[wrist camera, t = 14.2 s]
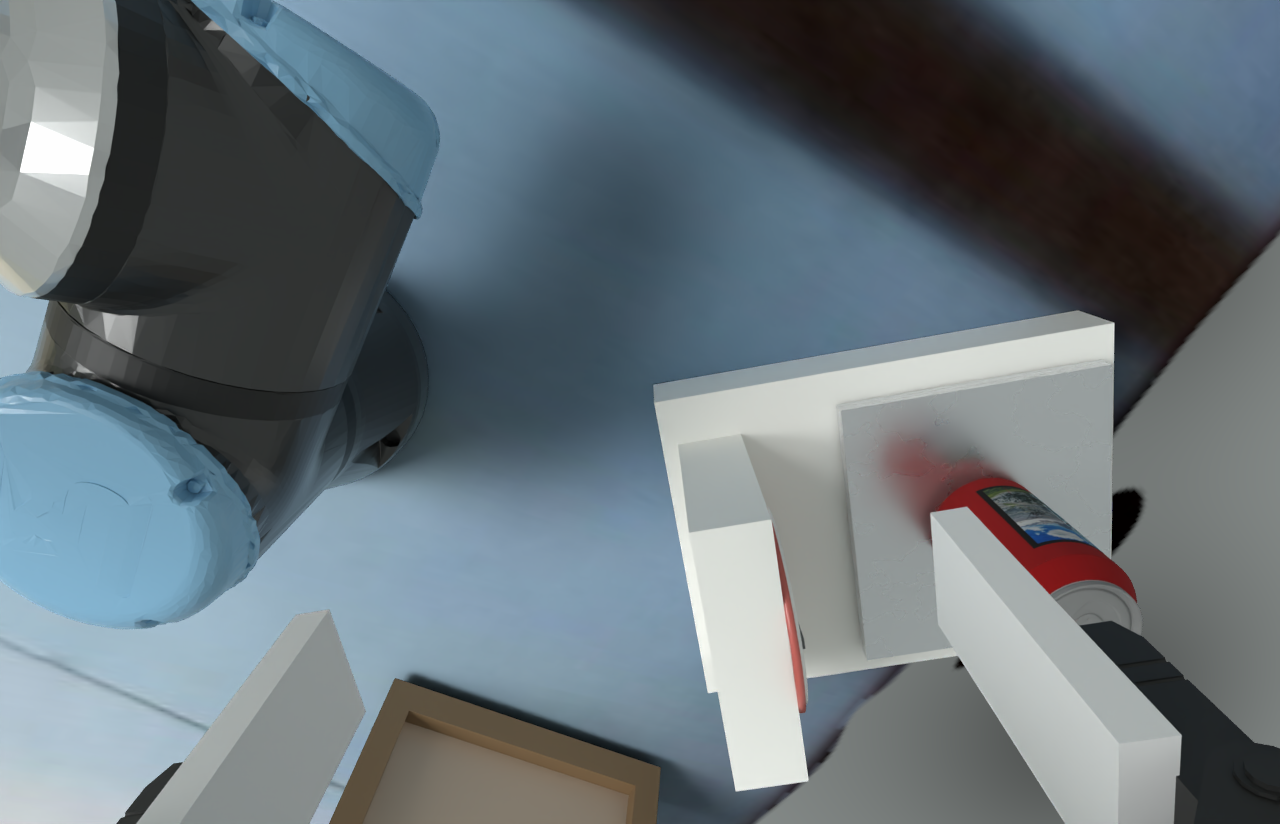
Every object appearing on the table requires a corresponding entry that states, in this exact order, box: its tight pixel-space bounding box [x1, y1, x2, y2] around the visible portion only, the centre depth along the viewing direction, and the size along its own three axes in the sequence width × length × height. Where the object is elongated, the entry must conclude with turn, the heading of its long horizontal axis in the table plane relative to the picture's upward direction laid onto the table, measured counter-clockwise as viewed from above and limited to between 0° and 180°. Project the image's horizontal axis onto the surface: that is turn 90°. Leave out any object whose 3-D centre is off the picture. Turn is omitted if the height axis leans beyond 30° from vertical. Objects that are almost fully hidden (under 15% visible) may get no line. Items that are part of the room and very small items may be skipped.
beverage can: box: [938, 478, 1143, 636], centre depth 42 cm, size 7×7×12 cm
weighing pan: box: [836, 359, 1113, 660], centre depth 48 cm, size 16×18×1 cm
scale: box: [653, 310, 1114, 791], centre depth 45 cm, size 28×22×17 cm
